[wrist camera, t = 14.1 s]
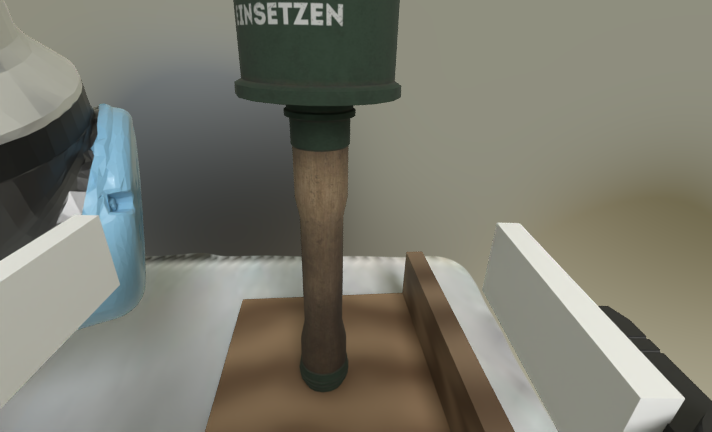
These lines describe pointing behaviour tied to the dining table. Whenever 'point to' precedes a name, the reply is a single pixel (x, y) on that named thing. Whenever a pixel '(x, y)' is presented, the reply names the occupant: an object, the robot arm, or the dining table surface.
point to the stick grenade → (319, 134)
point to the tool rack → (359, 368)
